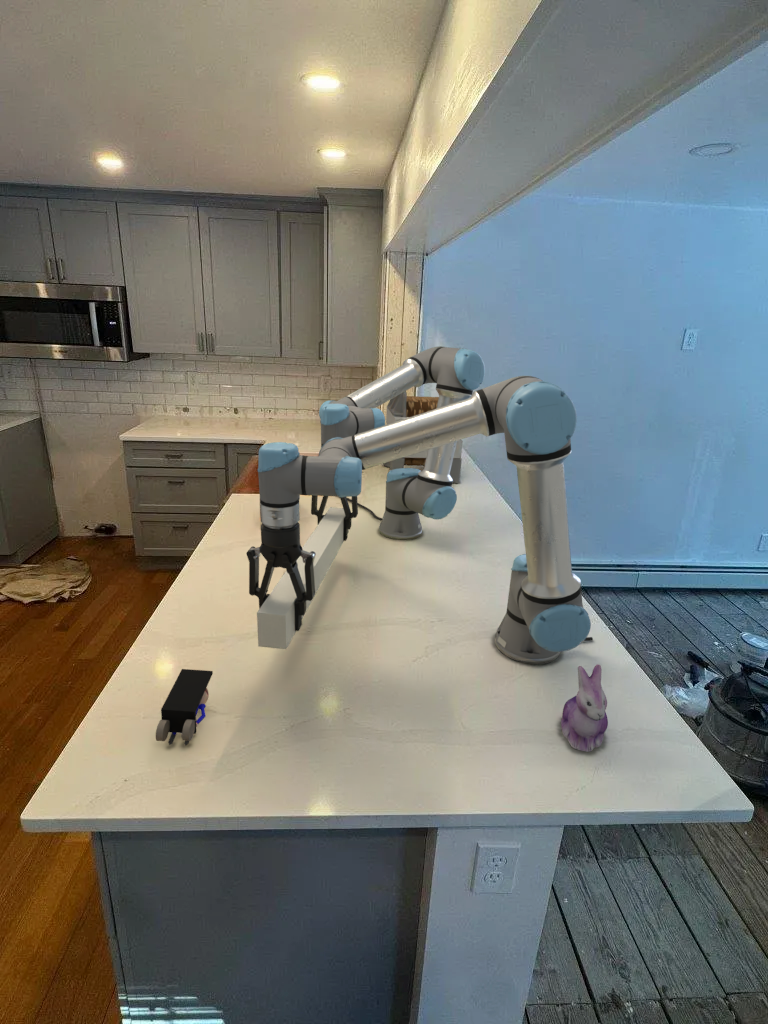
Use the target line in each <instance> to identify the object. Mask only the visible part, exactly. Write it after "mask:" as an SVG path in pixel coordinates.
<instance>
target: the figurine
mask: <svg viewBox="0 0 768 1024" xmlns="http://www.w3.org/2000/svg"><path fill="white" fill-rule="evenodd" d="M602 671H603V668H602V666H601V665H600V664H599V663H597V664H596V665H595V666H594V667H593V668H592V673H591V675H590V676H589V674H588V672H587V671H586V669H585V668H584V667H583V666H582V665H578V666H577V678H578V691H577V693H576V695H574V696H572V697H571V698H570V699H568V700H567V701H566V702H565V703H564V705H563V708H562V713H561V714H562V715H561V721H560V725H561V731H562V732H561V733H562V735H563V736H564V738H565V739H566V740H567V741H568V743H569V744H570V747H571V748H573V749H575V750H578V751H582V752H587V753H589V752H593V750H594V749H596V748H599V747H601V745H602V743H603V741H604V736H605V732H606V731H607V729H608V725H609V719H608V715H607V711H606V710H607V707H608V699H607V696H606V693H605V691H604V689H603V686H602V673H603V672H602Z"/></svg>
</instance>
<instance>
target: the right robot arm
mask: <svg viewBox="0 0 768 1024" xmlns="http://www.w3.org/2000/svg"><path fill="white" fill-rule="evenodd" d="M577 421H578V416H577V410H576V406H575V404H574V402H573V400H572V399H571V397H570V396H569V395H568V394H567V392H565V390H563V389H562V388H561V387H559V386H558V385H556V384H554V383H553V382H550V381H544V380H542V379H541V378H539V377H536V376H533V375H518V376H515V377H511V378H508V379H505V380H502V381H500V382H497V383H494V384H491V385H489V386H486V387H483V388H480V389H478V390H477V389H476V390H473V393H472V396H471V397H470V398H468V399H465V400H462V401H459V402H456V403H453V404H450V405H447V406H443V407H440V408H437V409H434V410H431V411H428V412H425V413H422V414H418V415H415V416H412V417H409V418H406V419H403V420H400V421H396V422H393V423H390V424H387V423H386V424H385V425H384V426H381V427H378V428H375V429H371V430H368V431H365V432H362V433H359V434H356V435H353V436H349V437H346V438H338V437H337V438H332V439H330V440H328V441H327V442H326V443H325V444H324V445H323V446H322V447H321V446H320V449H319V452H318V455H304V454H301V453H300V451H299V447H298V445H296V444H295V443H292V442H286V441H275V442H268V443H264V444H263V445H261V446H260V447H259V449H258V457H257V459H258V463H257V465H258V467H257V475H258V489H259V490H258V492H259V517H260V518H259V519H260V523H261V524H260V542H261V543H260V546H257V547H256V546H251V547H250V548H249V549H248V550H247V551H246V558H247V560H248V563H249V564H248V569H249V570H248V573H249V574H248V595H250V596H252V597H253V596H256V597H257V598H258V610H259V609H260V607H261V606H262V605H263V603H264V602H265V600H266V599H267V597H268V596H269V595H270V593H268V592H269V588H270V584H271V580H272V577H273V574H274V570H275V568H282V569H286V570H287V573H288V574H289V576H290V579H291V582H292V584H293V587H294V590H295V593H296V596H297V599H296V601H295V603H294V607H295V631H296V632H299V631H300V629H301V628H302V625H303V619H302V615H303V616H304V617H305V615H306V613H307V612H306V601H307V600H309V601H311V600H312V599H313V600H314V598H315V597H314V595H315V581H314V566H313V561H314V558H315V555H316V554H315V552H314V551H311V552H310V553H309V552H307V551H304V550H303V549H302V547H303V546H302V545H301V524H300V523H299V522H300V521H301V518H300V517H301V515H300V514H301V513H300V499H299V495H300V496H312V495H313V496H318V497H323V496H328V497H337V498H340V497H347V498H352V496H357V497H358V496H360V495H361V493H362V485H363V484H362V483H363V471H364V470H367V469H369V468H373V467H376V466H379V465H384V464H383V463H386V462H390V461H393V460H396V459H399V458H403V457H406V456H409V455H412V454H416V453H419V452H422V451H425V450H429V449H432V448H435V447H438V446H442V445H445V444H448V443H451V442H454V441H458V440H464V439H467V438H470V437H474V436H477V435H483V436H485V437H491V436H493V435H499V434H503V435H504V442H505V443H504V444H505V450H506V459H507V460H508V461H509V462H510V463H511V464H512V465H514V466H515V467H516V474H517V475H516V477H517V485H518V493H519V503H520V505H519V506H520V513H521V520H522V521H521V522H522V523H521V524H522V531H523V540H524V541H523V542H524V550H525V551H524V552H525V553H523V554H520V555H516V557H515V558H514V559H513V562H512V567H511V568H510V570H511V573H510V581H509V590H508V597H507V605H506V606H507V607H506V612H505V614H504V616H503V618H502V620H501V622H500V623H499V625H498V627H497V630H496V632H495V637H494V644H495V647H496V648H497V649H498V651H499V652H500V653H502V654H503V655H504V656H506V657H508V658H509V659H511V660H514V661H517V662H519V663H524V664H530V665H543V664H544V665H545V664H548V663H551V662H554V661H555V660H557V659H558V658H559V656H560V654H561V652H562V653H563V652H566V651H570V650H573V649H575V648H576V647H578V646H579V645H580V644H581V643H583V642H584V641H585V642H590V641H593V640H594V638H593V636H589V634H590V631H591V626H592V623H591V619H590V615H589V613H588V611H587V610H586V609H585V608H584V604H583V595H582V581H581V579H580V577H579V576H577V575H576V574H575V573H574V572H573V567H572V554H571V541H570V540H571V539H570V527H569V515H568V503H567V500H568V499H567V491H566V490H567V489H566V487H567V486H566V476H565V464H564V463H565V462H564V461H566V459H567V458H568V457H569V456H570V455H571V454H572V442H571V441H572V440H571V439H572V437H573V436H574V433H575V431H576V428H577V423H578V422H577ZM261 555H262V557H263V558H264V559H265V561H266V565H265V568H264V574H263V576H262V580H261V584H260V557H261ZM300 556H301V557H302V559H303V563H305V582H306V591H305V588H304V585H303V582H302V579H301V576H300V573H299V570H298V564H297V561H296V560H297V559H298V558H299V557H300ZM286 570H285V571H286ZM315 596H316V595H315ZM313 597H314V598H313ZM313 600H312V601H313ZM305 612H306V613H305ZM304 614H305V615H304ZM588 636H589V637H588Z"/></svg>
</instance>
